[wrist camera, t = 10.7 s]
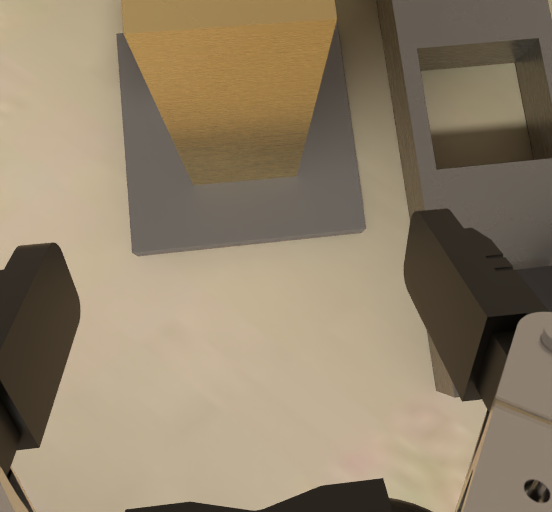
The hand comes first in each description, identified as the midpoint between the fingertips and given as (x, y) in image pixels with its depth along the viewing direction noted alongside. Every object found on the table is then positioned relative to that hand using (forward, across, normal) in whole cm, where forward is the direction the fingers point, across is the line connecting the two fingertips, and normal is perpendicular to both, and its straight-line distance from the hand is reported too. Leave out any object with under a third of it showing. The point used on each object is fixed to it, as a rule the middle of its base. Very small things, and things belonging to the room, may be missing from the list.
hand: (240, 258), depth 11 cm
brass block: (+11, 0, +2) cm, 12 cm away
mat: (+12, 0, +2) cm, 12 cm away
